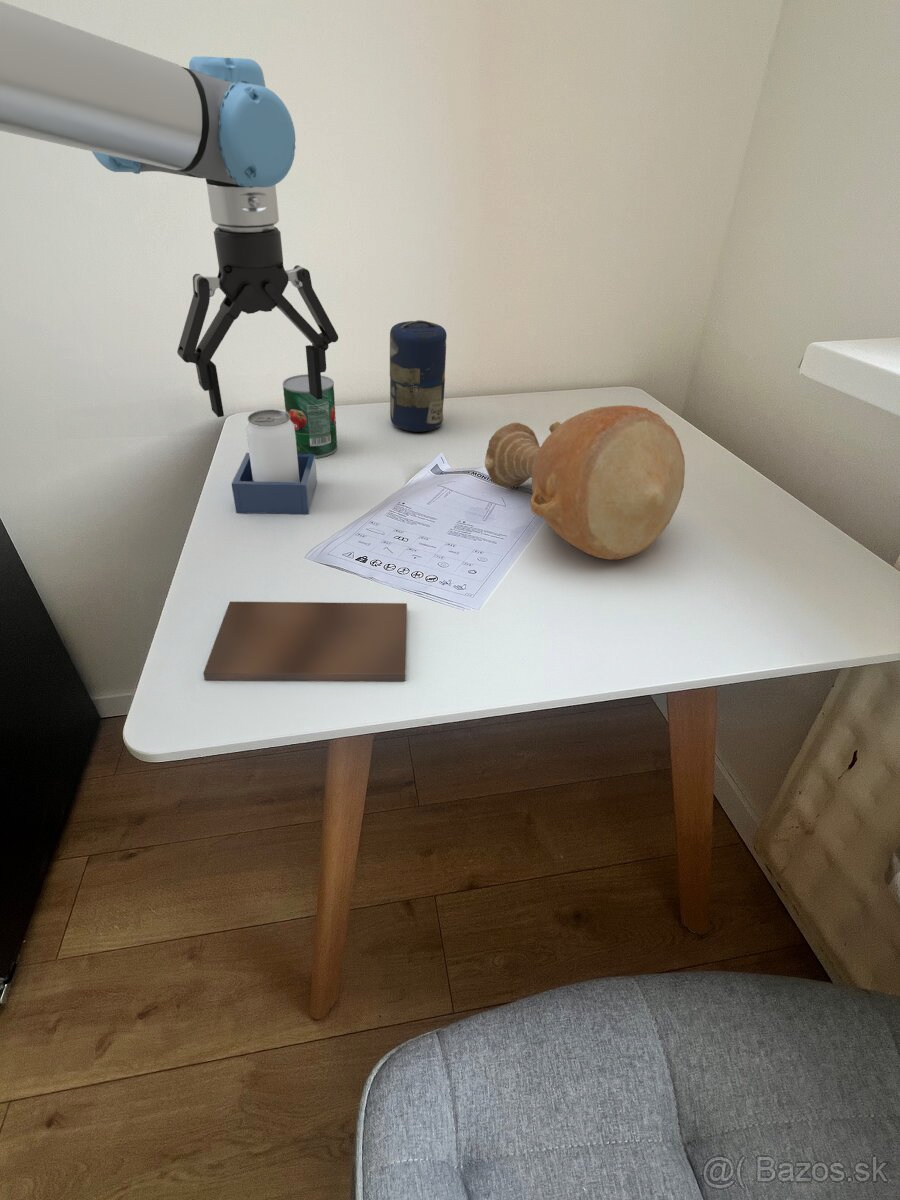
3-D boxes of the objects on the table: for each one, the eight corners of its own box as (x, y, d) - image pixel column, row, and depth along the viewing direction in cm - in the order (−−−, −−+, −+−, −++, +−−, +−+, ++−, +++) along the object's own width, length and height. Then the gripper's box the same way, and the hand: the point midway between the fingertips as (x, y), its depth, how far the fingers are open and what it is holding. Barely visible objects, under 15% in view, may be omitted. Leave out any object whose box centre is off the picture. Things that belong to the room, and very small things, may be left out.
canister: (389, 414, 128) (388, 312, 117) (440, 414, 129) (444, 312, 118) (391, 435, 120) (390, 327, 110) (446, 435, 121) (450, 328, 111)
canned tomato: (278, 449, 114) (271, 383, 107) (312, 434, 119) (306, 370, 113) (315, 463, 111) (309, 395, 104) (347, 446, 116) (344, 381, 109)
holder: (236, 513, 97) (231, 483, 94) (250, 480, 105) (246, 452, 102) (308, 514, 97) (306, 485, 95) (317, 481, 105) (314, 454, 103)
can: (298, 507, 99) (290, 426, 92) (252, 507, 98) (240, 426, 91) (303, 486, 104) (296, 408, 97) (259, 486, 103) (248, 407, 96)
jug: (579, 519, 75) (427, 449, 96) (637, 607, 88) (493, 528, 109) (693, 382, 76) (519, 343, 98) (734, 489, 89) (572, 434, 111)
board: (204, 680, 70) (203, 672, 69) (230, 608, 79) (229, 601, 79) (405, 681, 71) (405, 674, 70) (406, 610, 80) (406, 603, 80)
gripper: (141, 238, 72) (181, 431, 85) (358, 225, 83) (365, 398, 96) (125, 226, 77) (165, 410, 90) (332, 216, 89) (342, 381, 101)
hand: (268, 404), depth 93 cm, fingers open, 13 cm apart
